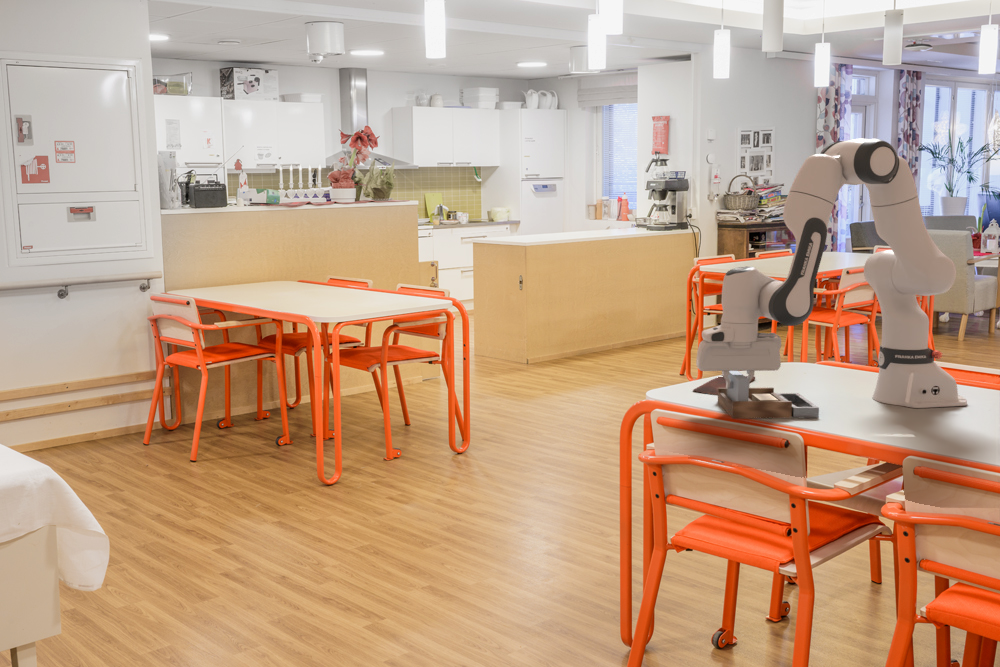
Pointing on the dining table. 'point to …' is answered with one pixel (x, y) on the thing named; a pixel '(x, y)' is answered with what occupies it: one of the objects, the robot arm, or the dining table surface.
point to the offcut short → (763, 397)
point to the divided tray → (755, 405)
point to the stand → (800, 406)
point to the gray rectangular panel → (738, 387)
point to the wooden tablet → (714, 386)
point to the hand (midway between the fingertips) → (737, 388)
